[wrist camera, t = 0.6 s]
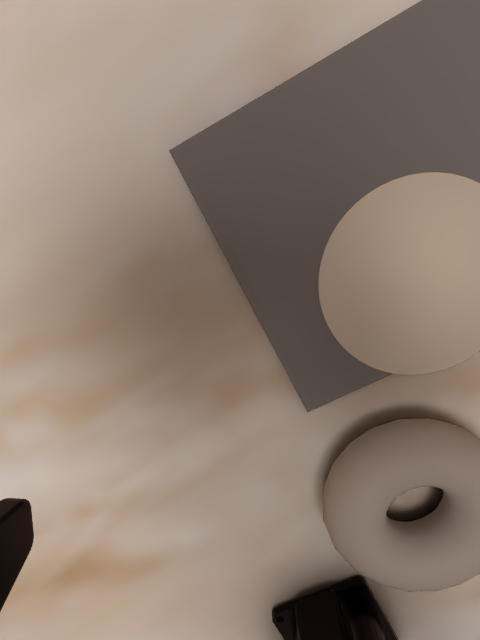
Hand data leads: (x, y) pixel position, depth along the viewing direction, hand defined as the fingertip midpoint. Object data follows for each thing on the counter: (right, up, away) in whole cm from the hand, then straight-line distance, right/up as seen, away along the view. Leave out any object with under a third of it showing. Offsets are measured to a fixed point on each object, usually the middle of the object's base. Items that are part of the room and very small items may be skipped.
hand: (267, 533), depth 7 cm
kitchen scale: (+7, +9, +11) cm, 16 cm away
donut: (+11, -1, +12) cm, 16 cm away
